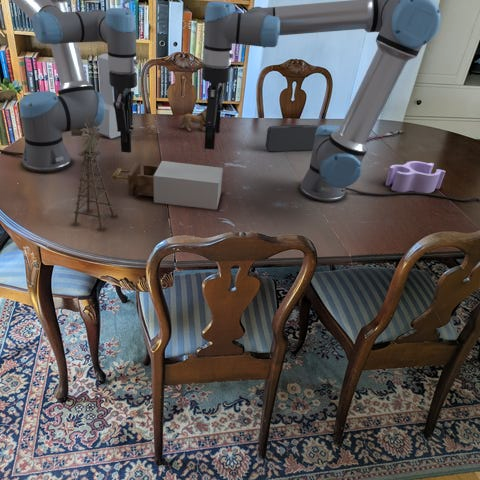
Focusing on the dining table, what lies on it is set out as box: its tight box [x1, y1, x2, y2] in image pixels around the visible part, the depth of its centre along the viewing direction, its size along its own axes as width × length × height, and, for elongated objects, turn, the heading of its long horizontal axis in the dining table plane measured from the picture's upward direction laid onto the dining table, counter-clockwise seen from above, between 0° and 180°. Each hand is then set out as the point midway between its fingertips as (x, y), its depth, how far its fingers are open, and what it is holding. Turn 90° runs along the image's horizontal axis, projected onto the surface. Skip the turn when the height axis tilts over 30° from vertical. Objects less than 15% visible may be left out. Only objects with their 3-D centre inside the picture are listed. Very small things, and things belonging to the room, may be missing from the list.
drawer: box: [111, 161, 159, 197], centre depth 146 cm, size 24×10×7 cm, turn 86°
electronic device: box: [96, 53, 121, 139], centre depth 180 cm, size 12×8×30 cm, turn 148°
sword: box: [366, 130, 405, 142], centre depth 214 cm, size 31×3×1 cm, turn 126°
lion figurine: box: [177, 107, 207, 132], centre depth 198 cm, size 15×5×9 cm, turn 110°
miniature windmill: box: [70, 116, 115, 230], centre depth 124 cm, size 9×8×30 cm
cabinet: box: [153, 160, 224, 211], centre depth 146 cm, size 20×11×9 cm, turn 86°
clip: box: [385, 160, 447, 194], centre depth 170 cm, size 20×12×7 cm, turn 109°
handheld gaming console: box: [264, 124, 320, 152], centre depth 189 cm, size 23×3×10 cm, turn 108°
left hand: (126, 151), depth 141 cm, fingers closed
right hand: (212, 140), depth 138 cm, fingers open, 13 cm apart
